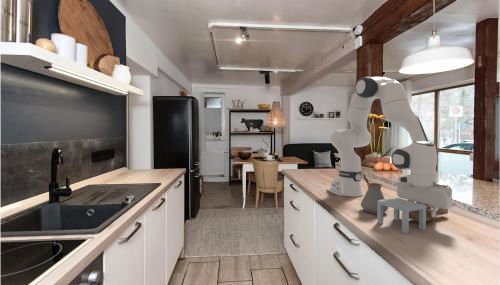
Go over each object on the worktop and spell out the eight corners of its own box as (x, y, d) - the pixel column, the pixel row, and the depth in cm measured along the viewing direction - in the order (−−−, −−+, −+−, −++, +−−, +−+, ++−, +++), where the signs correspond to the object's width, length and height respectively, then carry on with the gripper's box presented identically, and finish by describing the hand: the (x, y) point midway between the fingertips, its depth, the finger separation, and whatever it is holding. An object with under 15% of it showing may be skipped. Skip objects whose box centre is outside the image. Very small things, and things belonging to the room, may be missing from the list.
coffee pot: (392, 216, 106) (393, 182, 105) (365, 215, 107) (365, 182, 107) (374, 202, 127) (374, 174, 127) (351, 201, 129) (351, 174, 128)
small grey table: (377, 222, 99) (377, 200, 98) (396, 218, 103) (396, 197, 102) (405, 233, 87) (406, 208, 87) (425, 229, 91) (426, 205, 91)
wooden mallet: (437, 210, 108) (437, 197, 108) (452, 214, 103) (453, 200, 102) (405, 217, 100) (405, 202, 100) (420, 222, 95) (420, 206, 95)
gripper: (457, 184, 91) (456, 220, 91) (404, 176, 110) (404, 205, 110) (446, 186, 88) (445, 223, 89) (394, 177, 107) (394, 207, 108)
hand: (422, 213), depth 100 cm, fingers closed on wooden mallet, 6 cm apart
